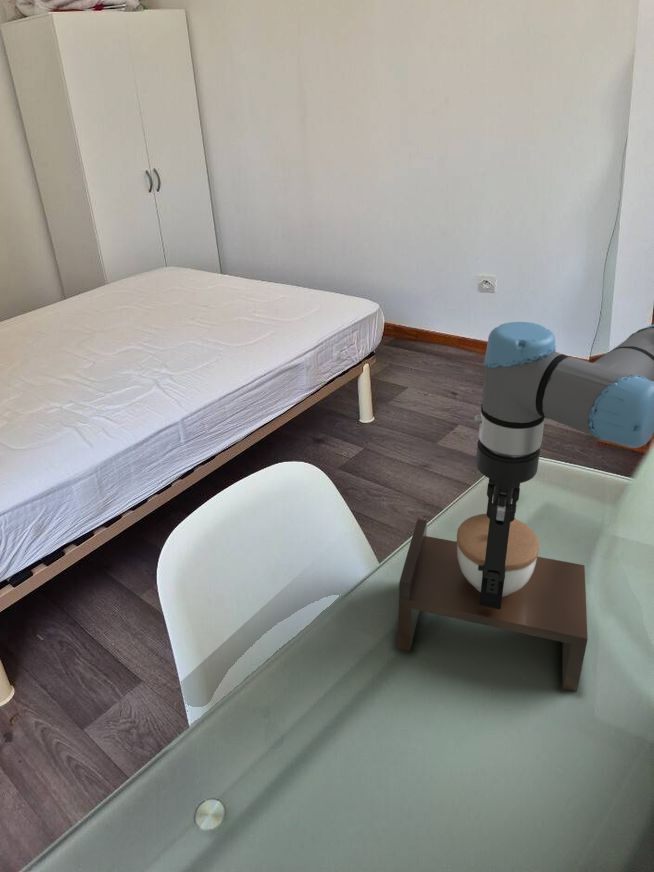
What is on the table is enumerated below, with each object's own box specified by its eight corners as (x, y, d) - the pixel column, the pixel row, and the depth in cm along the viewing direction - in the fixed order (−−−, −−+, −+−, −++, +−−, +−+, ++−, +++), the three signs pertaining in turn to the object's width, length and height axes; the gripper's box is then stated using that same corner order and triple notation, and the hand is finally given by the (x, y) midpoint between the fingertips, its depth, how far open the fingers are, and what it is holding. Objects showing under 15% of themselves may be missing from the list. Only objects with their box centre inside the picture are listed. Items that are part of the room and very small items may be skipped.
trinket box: (548, 601, 93) (557, 547, 88) (474, 616, 91) (479, 561, 87) (509, 549, 102) (515, 498, 98) (441, 562, 100) (444, 510, 96)
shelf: (575, 616, 103) (587, 548, 97) (576, 693, 91) (591, 621, 85) (414, 583, 111) (417, 518, 105) (397, 649, 99) (399, 581, 93)
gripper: (486, 396, 97) (474, 520, 107) (467, 491, 78) (455, 631, 88) (542, 402, 95) (525, 529, 105) (537, 502, 75) (517, 646, 85)
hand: (493, 576), depth 96 cm, fingers closed on trinket box, 11 cm apart
